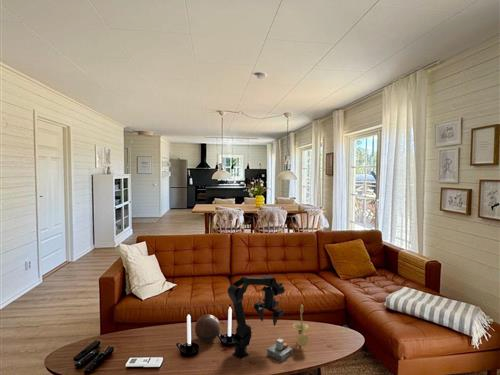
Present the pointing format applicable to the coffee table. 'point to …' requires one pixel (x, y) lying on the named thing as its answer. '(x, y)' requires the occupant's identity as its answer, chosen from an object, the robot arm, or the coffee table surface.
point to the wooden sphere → (207, 328)
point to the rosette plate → (277, 354)
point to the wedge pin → (280, 345)
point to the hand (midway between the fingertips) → (268, 323)
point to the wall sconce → (301, 330)
